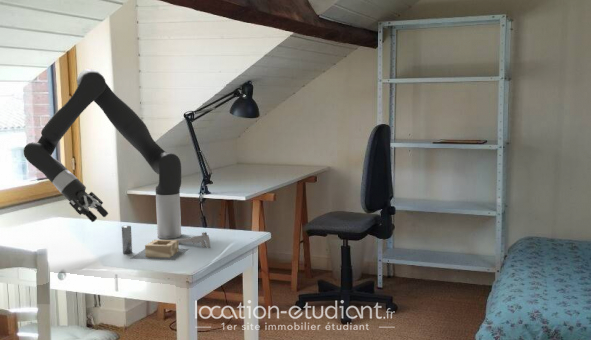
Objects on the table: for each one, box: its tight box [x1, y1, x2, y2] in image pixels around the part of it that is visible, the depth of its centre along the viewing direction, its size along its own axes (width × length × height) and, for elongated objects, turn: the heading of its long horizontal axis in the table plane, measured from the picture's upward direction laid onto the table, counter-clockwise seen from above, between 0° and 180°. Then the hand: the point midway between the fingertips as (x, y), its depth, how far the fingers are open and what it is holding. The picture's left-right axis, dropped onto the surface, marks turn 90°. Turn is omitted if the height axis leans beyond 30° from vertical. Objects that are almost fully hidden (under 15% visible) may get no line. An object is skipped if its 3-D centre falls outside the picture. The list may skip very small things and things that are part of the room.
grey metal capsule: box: [121, 225, 133, 255], centre depth 230 cm, size 3×3×10 cm
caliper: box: [176, 231, 211, 249], centre depth 242 cm, size 20×1×6 cm, turn 63°
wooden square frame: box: [144, 239, 180, 258], centre depth 229 cm, size 9×9×4 cm
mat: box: [129, 248, 189, 261], centre depth 230 cm, size 15×16×1 cm
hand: (100, 217), depth 231 cm, fingers open, 8 cm apart
